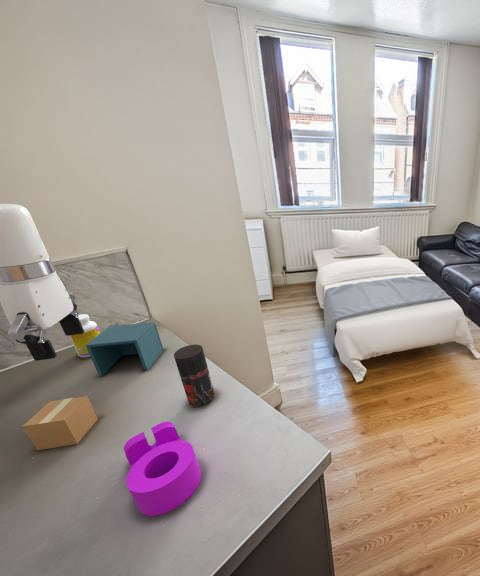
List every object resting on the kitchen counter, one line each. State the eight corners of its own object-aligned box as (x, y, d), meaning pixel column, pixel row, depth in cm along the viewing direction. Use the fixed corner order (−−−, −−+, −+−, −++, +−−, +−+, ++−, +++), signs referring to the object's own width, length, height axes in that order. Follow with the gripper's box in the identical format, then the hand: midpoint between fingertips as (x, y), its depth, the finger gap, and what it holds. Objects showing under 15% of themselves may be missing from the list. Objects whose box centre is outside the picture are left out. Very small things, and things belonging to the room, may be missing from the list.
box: (77, 444, 62) (64, 419, 60) (37, 450, 61) (21, 426, 58) (98, 418, 69) (87, 395, 66) (62, 424, 67) (49, 400, 64)
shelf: (147, 370, 85) (136, 340, 81) (99, 376, 83) (85, 345, 79) (163, 349, 95) (154, 321, 91) (120, 354, 92) (109, 325, 88)
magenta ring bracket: (208, 485, 55) (201, 462, 52) (144, 529, 48) (132, 505, 46) (182, 436, 65) (175, 415, 62) (126, 467, 58) (115, 445, 55)
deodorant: (218, 398, 75) (206, 351, 70) (192, 411, 71) (177, 362, 66) (210, 387, 79) (198, 341, 73) (185, 399, 75) (170, 351, 69)
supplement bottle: (110, 350, 94) (95, 316, 89) (82, 361, 89) (65, 325, 84) (102, 344, 97) (88, 310, 92) (75, 353, 92) (59, 318, 87)
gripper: (32, 259, 61) (64, 328, 68) (-46, 289, 46) (5, 374, 53) (76, 257, 64) (104, 324, 70) (16, 284, 49) (58, 366, 55)
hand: (61, 345), depth 62 cm, fingers open, 9 cm apart
